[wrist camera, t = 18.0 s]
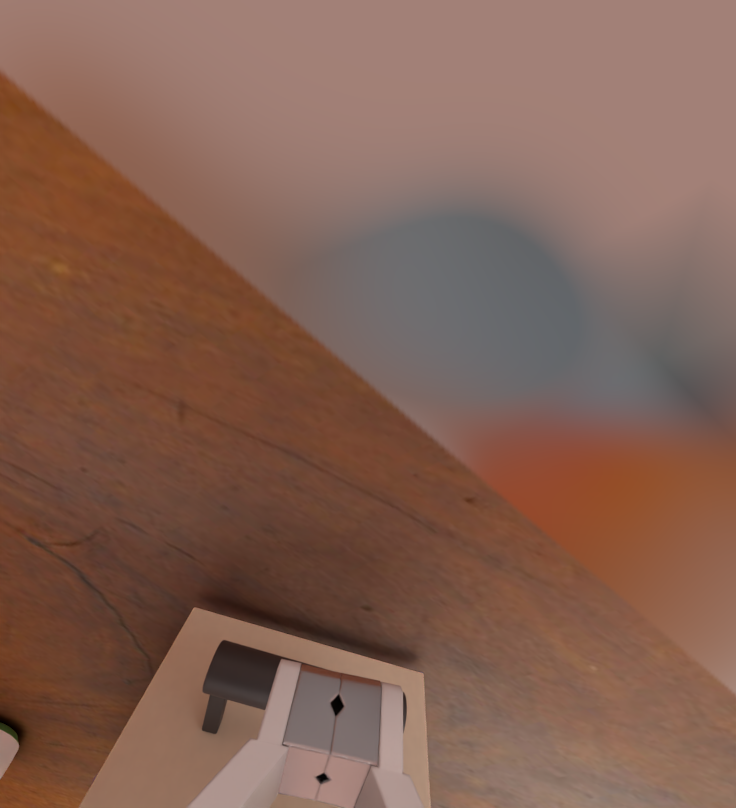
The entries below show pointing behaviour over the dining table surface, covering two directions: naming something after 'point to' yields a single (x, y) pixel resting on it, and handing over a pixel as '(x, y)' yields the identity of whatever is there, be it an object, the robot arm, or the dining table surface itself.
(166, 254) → the dining table surface
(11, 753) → the cup
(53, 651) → the dining table surface
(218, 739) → the box drawer
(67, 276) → the dining table surface
